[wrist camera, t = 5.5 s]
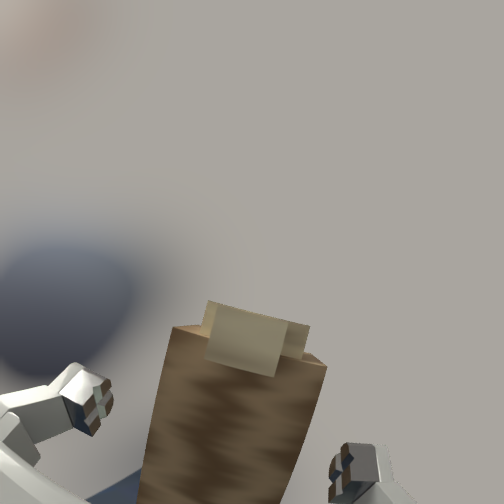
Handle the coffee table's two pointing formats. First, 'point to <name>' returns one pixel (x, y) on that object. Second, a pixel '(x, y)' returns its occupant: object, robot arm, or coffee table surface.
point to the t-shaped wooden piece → (250, 338)
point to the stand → (225, 427)
